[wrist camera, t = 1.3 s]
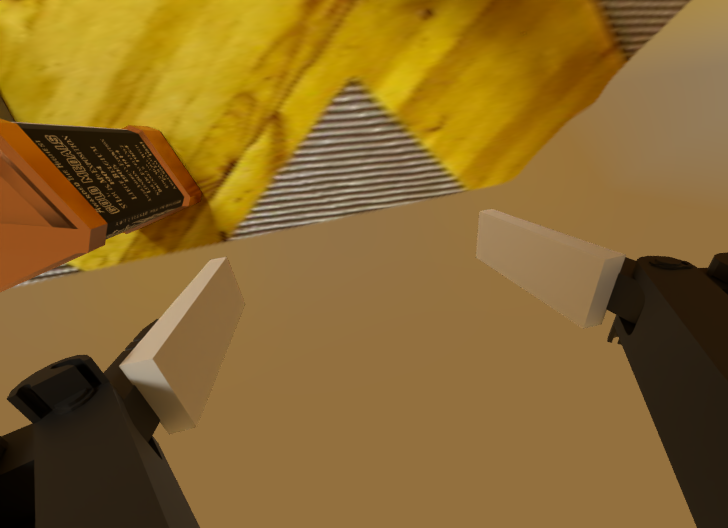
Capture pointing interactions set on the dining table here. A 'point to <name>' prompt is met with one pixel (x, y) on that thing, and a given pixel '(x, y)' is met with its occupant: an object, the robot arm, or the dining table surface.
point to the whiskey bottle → (80, 191)
